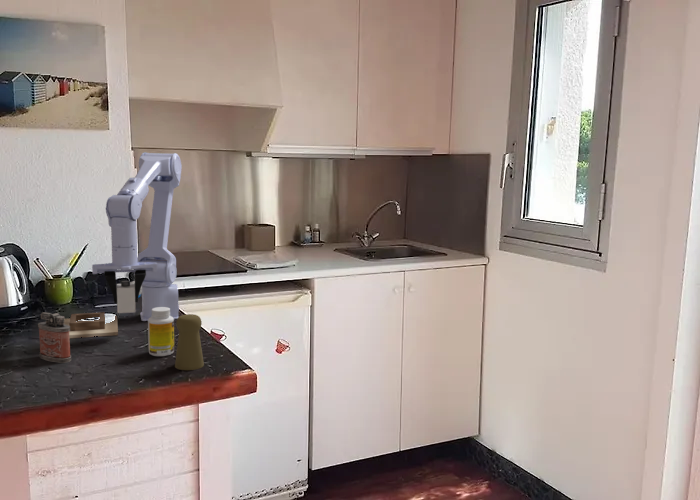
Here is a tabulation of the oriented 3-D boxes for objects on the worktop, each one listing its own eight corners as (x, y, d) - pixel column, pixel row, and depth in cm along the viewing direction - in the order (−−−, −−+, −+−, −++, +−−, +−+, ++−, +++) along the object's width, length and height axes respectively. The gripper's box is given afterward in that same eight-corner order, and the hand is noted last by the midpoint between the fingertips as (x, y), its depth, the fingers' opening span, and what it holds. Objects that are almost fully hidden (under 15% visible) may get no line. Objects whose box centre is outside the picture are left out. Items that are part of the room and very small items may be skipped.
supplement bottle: (176, 355, 149) (176, 310, 147) (151, 358, 146) (150, 312, 144) (171, 348, 153) (171, 305, 152) (146, 351, 151) (145, 307, 149)
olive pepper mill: (200, 370, 139) (199, 319, 137) (171, 369, 139) (170, 318, 137) (206, 361, 145) (206, 312, 143) (179, 360, 145) (178, 311, 143)
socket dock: (117, 318, 177) (116, 308, 177) (118, 335, 163) (117, 324, 162) (59, 321, 173) (59, 311, 172) (55, 339, 158) (54, 327, 157)
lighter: (75, 359, 144) (73, 314, 142) (62, 363, 141) (60, 317, 139) (48, 353, 147) (46, 309, 146) (35, 357, 144) (33, 312, 143)
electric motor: (119, 299, 199) (118, 282, 198) (126, 295, 203) (126, 279, 202) (140, 300, 198) (140, 284, 197) (148, 297, 202) (147, 281, 201)
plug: (134, 307, 163) (133, 279, 162) (135, 312, 159) (134, 283, 158) (117, 308, 162) (116, 279, 161) (117, 313, 157) (116, 284, 156)
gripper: (91, 249, 152) (93, 307, 154) (157, 247, 157) (158, 304, 159) (91, 244, 158) (93, 300, 160) (155, 243, 163) (156, 297, 165)
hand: (126, 301), depth 160 cm, fingers closed on plug, 4 cm apart
